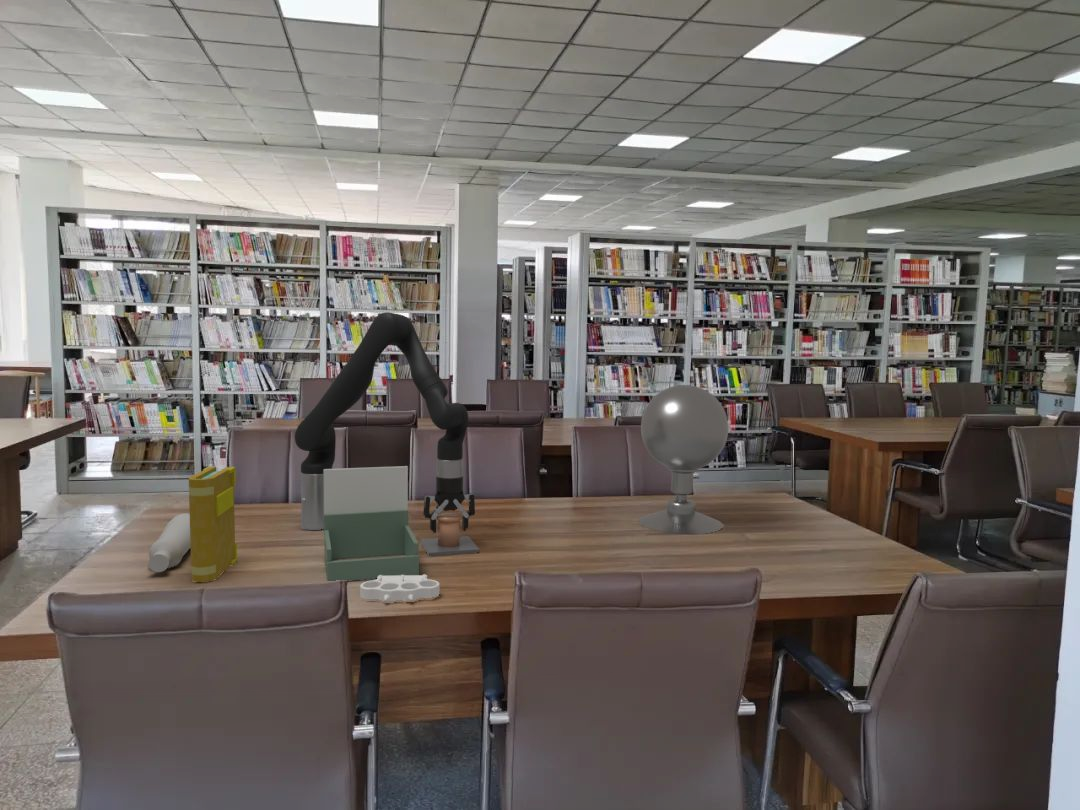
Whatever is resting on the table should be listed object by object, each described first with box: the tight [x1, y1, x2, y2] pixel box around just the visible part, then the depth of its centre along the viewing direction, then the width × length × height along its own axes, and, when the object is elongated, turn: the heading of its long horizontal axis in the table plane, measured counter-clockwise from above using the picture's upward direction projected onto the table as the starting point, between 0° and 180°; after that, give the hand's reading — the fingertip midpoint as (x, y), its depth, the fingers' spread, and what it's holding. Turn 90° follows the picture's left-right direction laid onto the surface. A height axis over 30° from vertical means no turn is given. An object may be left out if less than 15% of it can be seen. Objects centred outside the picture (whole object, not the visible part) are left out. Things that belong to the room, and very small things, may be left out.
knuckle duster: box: [359, 573, 441, 601], centre depth 174 cm, size 3×18×15 cm
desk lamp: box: [637, 384, 729, 535], centre depth 242 cm, size 28×28×45 cm
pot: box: [436, 512, 462, 547], centre depth 211 cm, size 7×7×8 cm
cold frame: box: [323, 465, 420, 582], centre depth 192 cm, size 22×21×24 cm
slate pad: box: [420, 535, 480, 557], centre depth 211 cm, size 14×14×1 cm
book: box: [188, 466, 238, 583], centre depth 186 cm, size 17×7×25 cm, turn 5°
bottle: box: [147, 513, 191, 573], centre depth 196 cm, size 9×9×30 cm
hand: (449, 531), depth 211 cm, fingers open, 8 cm apart
